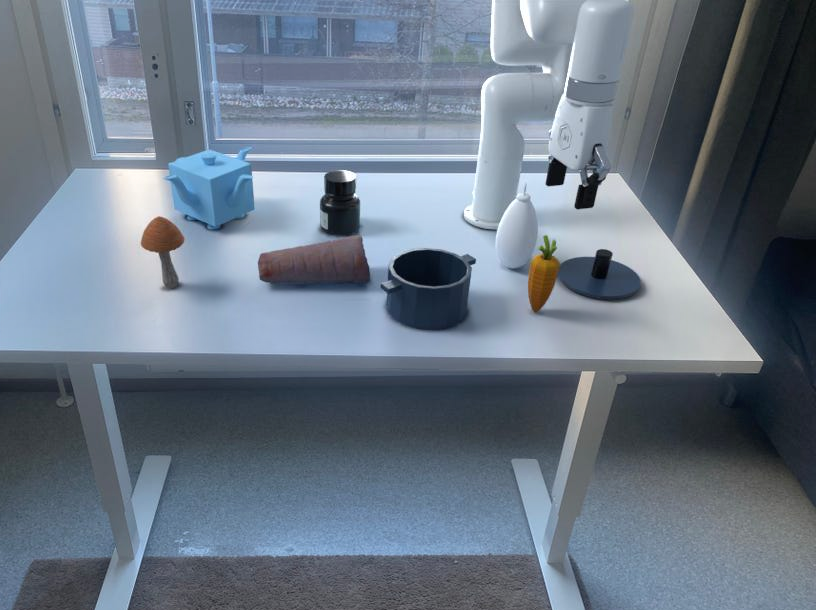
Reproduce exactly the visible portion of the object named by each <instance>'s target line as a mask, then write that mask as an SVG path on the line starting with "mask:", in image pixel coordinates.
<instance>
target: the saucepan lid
mask: <svg viewBox="0 0 816 610" xmlns="http://www.w3.org/2000/svg"><path fill="white" fill-rule="evenodd" d="M557 279H558V280H559V281H560V282H561V283H562V284H563V285H564V286H565V287H567V289H570V290H571V291H573V292H575V293H578V294H580V295H584V296H586V297H590V298H597V299H603V300H604V299H605V300H616V299H617V300H618V299H624V298H627V297H631V296H633V295H634V294H636V293H637V292H638V291H639V290H640V287H641V285H642V284H641V282H642V281H641V278H640V276H639V274H638V273H637V272H636V271H635V270H633V269H632V268H631V267H629V266H627V265H626V264H623V263H622V262H619V261H616V260H613V252H612V251H611V250H609V249H605V248H599V249H597V250H596V251H595V256H578V257H577V256H576V257H572V258H569V259H566V260H564V261H562V262H561V263H560V267H559V271H558V275H557Z"/></svg>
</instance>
